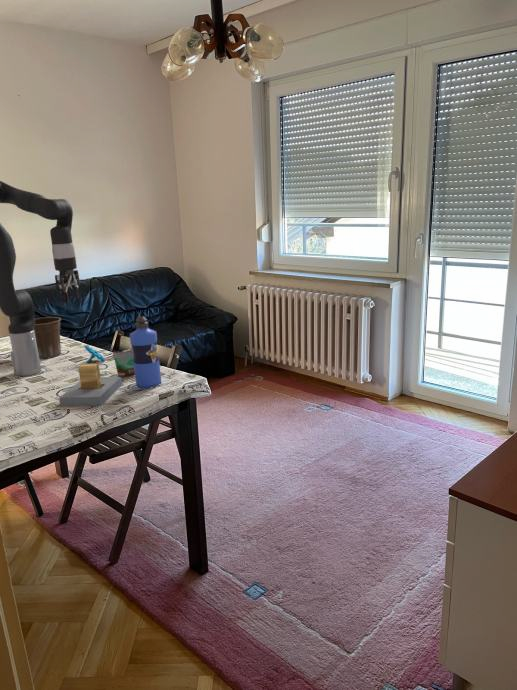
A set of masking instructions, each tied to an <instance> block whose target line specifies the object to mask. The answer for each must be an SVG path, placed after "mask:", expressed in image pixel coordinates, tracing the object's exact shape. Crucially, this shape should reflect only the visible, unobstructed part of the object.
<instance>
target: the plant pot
mask: <svg viewBox="0 0 517 690" xmlns="http://www.w3.org/2000/svg"><path fill="white" fill-rule="evenodd" d="M61 321H62V318H61V317H57V316H49V317H47V316H45V317H39V318H37V317H36V318H35V323H34V331H35V336H36V342H37V348H38V354H39V360H40V359H51V358H55V357H58V356H59V355H61V353H62V349H61V346H62V345H61Z"/></svg>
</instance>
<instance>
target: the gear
mask: <svg viewBox="0 0 517 690" xmlns="http://www.w3.org/2000/svg"><path fill="white" fill-rule="evenodd" d="M84 348H85V350H86V351H87V352H88V353H89V354H91V355H90V357H89V358H88V360H87V361H86V364H88V363H90V362H91V361H92V360H93V359H95V358H96V359H97V360H100V361H101V362H105V361H106V359H105V357H104V356H103V355H102V354H101V353H99V352H98V351H97V350H96V349H93V348H92V347H90V346H88V345H85V346H84Z"/></svg>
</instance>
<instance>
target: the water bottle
mask: <svg viewBox="0 0 517 690" xmlns="http://www.w3.org/2000/svg"><path fill="white" fill-rule="evenodd" d="M147 320H148V319H147V318H146V317H145V316H143V315H139V316H138V317H136V319H135V321H136V323H135V328H136V329H135V330H134V331H133V332H130V334H129V342H130V345H131V348H132V350H133V354H134V362H133V363H134V372H135V376H134V378H135V379H134V380H135V386H137V387H136V388H138V389H143V388H146V389H152V388H151V387H153V388H156V387H155V386H157V385H159V384H161V385H162V383H161V382H162V374H161V365H160V358H159V354H158V333H157V331H156V330H153V329H151V328H149V322H148V321H147ZM159 386H160V385H159ZM157 387H158V386H157Z"/></svg>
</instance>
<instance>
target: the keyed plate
mask: <svg viewBox="0 0 517 690" xmlns="http://www.w3.org/2000/svg"><path fill="white" fill-rule="evenodd" d="M100 377H101V376H100ZM101 384H102V388H101V389H81V382H80V380H79V381H78V382H77V383H76V384H74V385H72V387H70V388H69V389H67V391H65V392H64V393H63V394H62V395H60V396H59V397H58V400H59V406H60V407H82V406H86V407H87V406H91V407H92V406H102V405H103V404H104V403H106V402H107V400H108V399H109V398H111V396H112V395H114V393H115V392H117V390H118V389H120V388H121V387H122V385H123V380H122V377H118V376H108V377H107V376H105V377H104V376H102V377H101Z"/></svg>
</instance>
